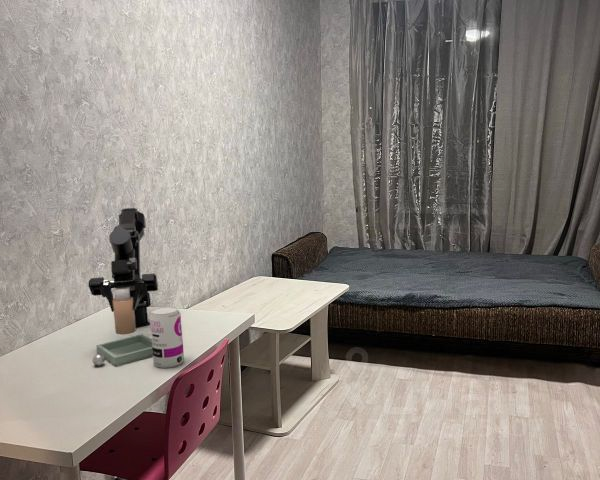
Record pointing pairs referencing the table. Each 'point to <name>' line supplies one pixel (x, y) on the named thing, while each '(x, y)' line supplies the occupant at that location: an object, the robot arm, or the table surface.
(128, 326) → the shaker
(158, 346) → the supplement can
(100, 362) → the ball
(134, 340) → the tray
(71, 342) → the table surface
